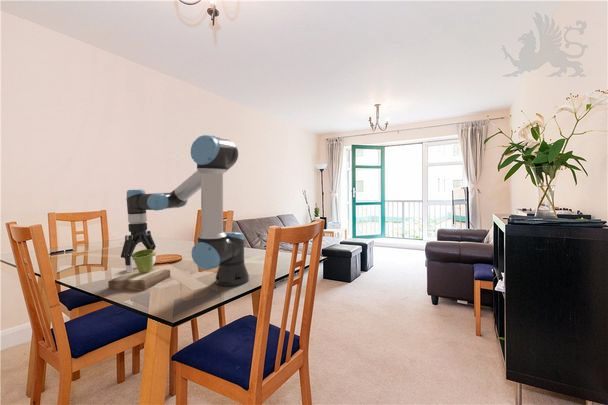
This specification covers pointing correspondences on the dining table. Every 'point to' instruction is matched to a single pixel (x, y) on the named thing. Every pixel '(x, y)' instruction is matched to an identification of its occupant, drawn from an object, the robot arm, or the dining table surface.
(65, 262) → the dining table surface
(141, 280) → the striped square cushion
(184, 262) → the dining table surface
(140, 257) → the plant pot
